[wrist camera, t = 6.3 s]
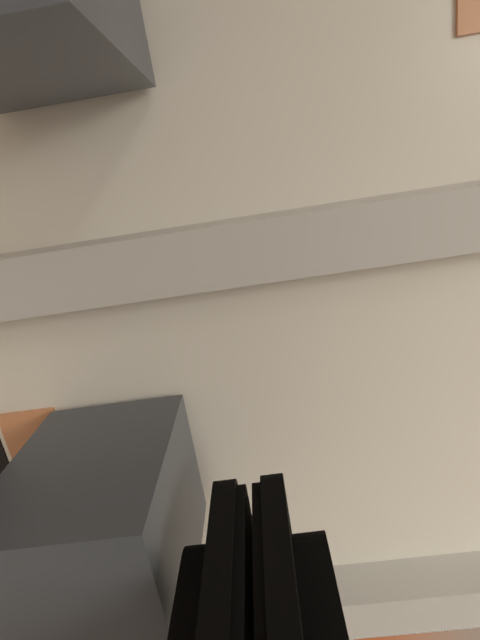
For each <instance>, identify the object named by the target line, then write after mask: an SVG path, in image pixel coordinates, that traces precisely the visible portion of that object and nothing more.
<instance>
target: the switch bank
mask: <svg viewBox="0 0 480 640" xmlns="http://www.w3.org/2000/svg"><path fill="white" fill-rule="evenodd" d="M140 5H141V10H142V15H143V21H144V26H145V31H146V36H147V41H148V47H149V52H150V57H151V62H152V68H153V73H154V78H155V83H156V87H152V88H147V89H141V90H135V91H129V92H124V93H118V94H112V95H107V96H101V97H95V98H90V99H84V100H78V101H72V102H67V103H61V104H55V105H50V106H44V107H38V108H33V109H27V110H21V111H15V112H10V113H4V114H0V439H1V442H2V444H3V447H4V450H5V452H6V455H7V457H8V460H9V462H10V461H11V460H12V459H13V458H14V456H15V455H16V454H17V453H18V451H19V450H20V449H21V448H22V447H23V445H24V444H25V443H26V442H27V441H28V439H29V438H30V437H31V436H32V434H33V433H34V432H35V431H36V430H37V428H38V427H39V426H40V425H41V424H42V422H43V421H44V420H45V419H46V417H47V416H48V415H49V414H50V413H51V412H53V411H60V410H68V409H76V408H83V407H91V406H98V405H106V404H114V403H121V402H129V401H137V400H144V399H152V398H160V397H167V396H175V395H183V399H184V404H185V408H186V413H187V418H188V422H189V427H190V431H191V436H192V441H193V445H194V450H195V454H196V459H197V463H198V468H199V473H200V477H201V482H202V486H203V491H204V496H205V500H206V511H205V520H204V528H203V536H202V544H206V536H207V527H208V518H209V509H210V500H211V491H212V484H213V481H220V480H228V479H237V483H238V485H241V484H246V487H247V492H248V497H249V502H250V508H251V513H252V483H257V482H260V476H261V475H269V474H277V473H283V478H284V484H285V490H286V497H287V503H288V510H289V516H290V523H291V529H292V534H295V533H304V532H313V531H322V530H325V532H326V536H327V541H328V545H329V550H330V554H331V559H332V563H333V568H334V572H335V577H336V582H337V586H338V591H339V595H340V600H341V604H342V609H343V613H344V618H345V623H346V627H347V632H348V636H349V640H352V639H362V638H374V637H384V636H395V635H405V634H416V633H427V632H437V631H448V630H459V629H470V628H480V0H140Z"/></svg>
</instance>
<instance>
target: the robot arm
mask: <svg viewBox="0 0 480 640" xmlns="http://www.w3.org/2000/svg"><path fill="white" fill-rule="evenodd" d="M167 640H349V636H348V632H347V627H346V623H345V618H344V613H343V609H342V604H341V600H340V595H339V591H338V586H337V582H336V577H335V572H334V568H333V563H332V559H331V554H330V550H329V545H328V541H327V536H326V532H325V530H322V531H313V532H304V533H295V534H292V529H291V523H290V516H289V510H288V503H287V497H286V490H285V484H284V478H283V473H277V474H269V475H261V476H260V482H257V483H252V513H251V508H250V502H249V497H248V492H247V487H246V484H241V485H238V483H237V479H228V480H220V481H213V484H212V491H211V500H210V509H209V518H208V527H207V536H206V544H199V545H190V546H185V547H184V549H183V551H182V555H181V561H180V567H179V573H178V578H177V584H176V590H175V596H174V602H173V607H172V613H171V619H170V625H169V631H168V637H167Z"/></svg>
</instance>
